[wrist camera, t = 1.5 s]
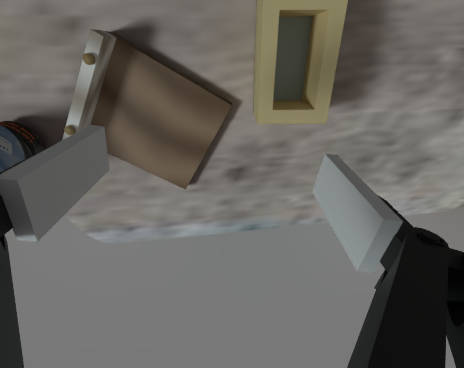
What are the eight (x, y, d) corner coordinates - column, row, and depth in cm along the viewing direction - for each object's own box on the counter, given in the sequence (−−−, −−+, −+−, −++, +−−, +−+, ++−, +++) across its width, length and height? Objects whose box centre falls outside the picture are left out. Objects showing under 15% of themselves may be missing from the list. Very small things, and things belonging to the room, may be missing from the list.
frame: (256, 1, 25) (263, -12, 20) (325, 1, 25) (350, -12, 20) (253, 111, 31) (257, 124, 25) (309, 110, 31) (326, 123, 25)
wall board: (109, 31, 27) (88, 28, 22) (231, 103, 30) (232, 111, 26) (80, 134, 32) (58, 147, 28) (186, 185, 36) (181, 202, 31)
